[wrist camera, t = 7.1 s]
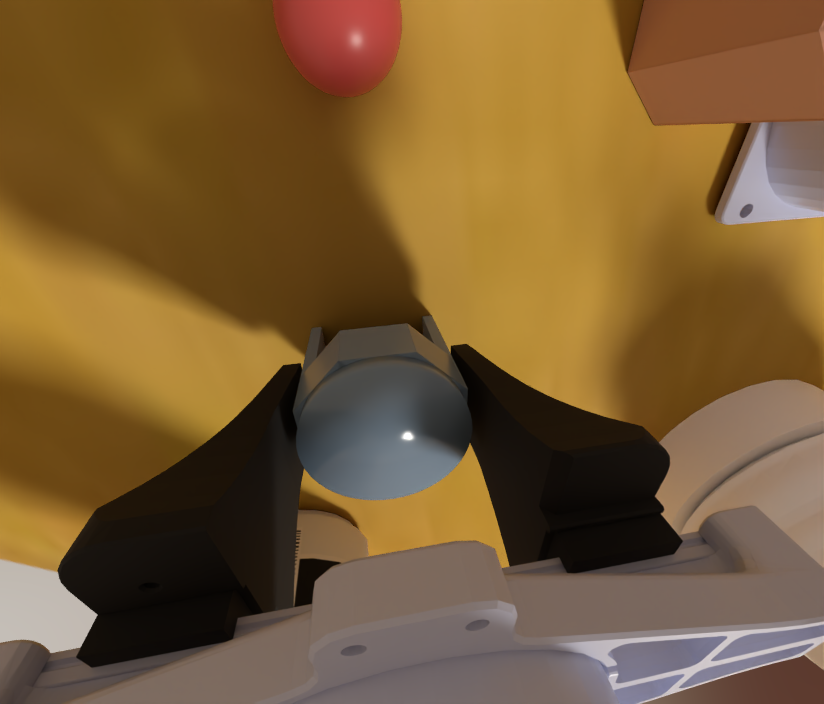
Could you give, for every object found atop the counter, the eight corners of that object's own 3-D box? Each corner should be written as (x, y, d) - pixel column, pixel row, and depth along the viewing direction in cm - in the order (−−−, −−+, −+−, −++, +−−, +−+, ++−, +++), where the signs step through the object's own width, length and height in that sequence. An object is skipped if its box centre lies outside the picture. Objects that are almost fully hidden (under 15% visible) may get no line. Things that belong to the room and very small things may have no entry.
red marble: (390, -45, 9) (406, -114, 6) (397, 99, 11) (413, 89, 8) (270, -45, 9) (238, -118, 6) (297, 103, 10) (280, 93, 8)
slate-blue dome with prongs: (430, 281, 14) (476, 356, 9) (432, 382, 17) (469, 486, 11) (304, 293, 13) (275, 380, 8) (326, 396, 16) (314, 511, 11)
